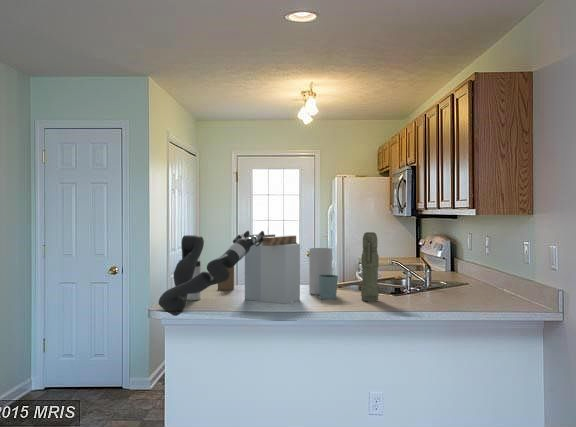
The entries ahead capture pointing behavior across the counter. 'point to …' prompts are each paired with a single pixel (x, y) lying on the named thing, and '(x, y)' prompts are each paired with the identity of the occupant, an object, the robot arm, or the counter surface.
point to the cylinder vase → (318, 267)
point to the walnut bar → (278, 240)
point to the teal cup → (328, 286)
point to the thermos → (369, 267)
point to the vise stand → (273, 272)
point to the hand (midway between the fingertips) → (255, 232)
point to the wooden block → (228, 281)
